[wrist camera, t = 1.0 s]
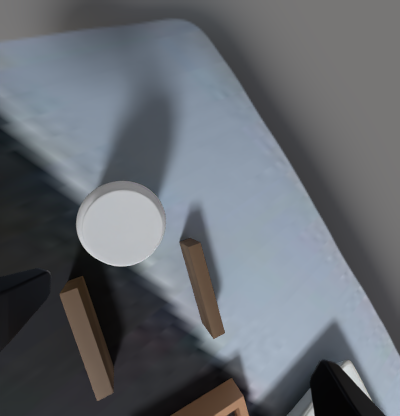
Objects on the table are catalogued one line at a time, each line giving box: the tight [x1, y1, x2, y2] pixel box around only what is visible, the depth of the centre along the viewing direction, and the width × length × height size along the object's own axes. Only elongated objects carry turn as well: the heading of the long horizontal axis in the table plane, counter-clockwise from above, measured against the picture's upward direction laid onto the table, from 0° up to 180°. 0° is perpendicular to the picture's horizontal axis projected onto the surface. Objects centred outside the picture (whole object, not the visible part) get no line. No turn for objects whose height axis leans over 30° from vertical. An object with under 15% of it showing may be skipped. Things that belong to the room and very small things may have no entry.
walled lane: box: [59, 238, 225, 401], centre depth 20 cm, size 11×9×3 cm
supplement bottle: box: [76, 181, 166, 266], centre depth 16 cm, size 5×5×10 cm
